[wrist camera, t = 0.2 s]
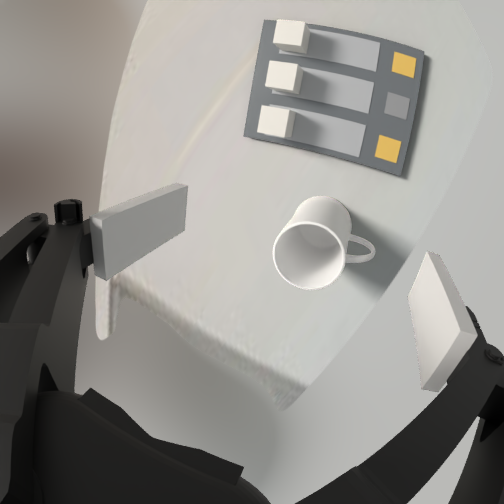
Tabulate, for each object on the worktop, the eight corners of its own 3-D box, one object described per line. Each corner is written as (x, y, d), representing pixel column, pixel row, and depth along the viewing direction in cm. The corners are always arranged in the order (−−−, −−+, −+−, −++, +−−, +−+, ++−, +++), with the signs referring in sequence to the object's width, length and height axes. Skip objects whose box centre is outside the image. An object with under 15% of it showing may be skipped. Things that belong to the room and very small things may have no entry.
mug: (380, 210, 39) (387, 240, 28) (363, 264, 42) (362, 308, 32) (299, 189, 41) (277, 210, 31) (288, 243, 45) (264, 280, 35)
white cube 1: (285, 28, 32) (277, 19, 28) (310, 31, 31) (305, 21, 27) (281, 50, 33) (272, 42, 30) (306, 53, 32) (300, 45, 29)
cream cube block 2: (278, 66, 34) (269, 60, 31) (303, 70, 33) (297, 64, 30) (273, 90, 36) (265, 86, 32) (299, 94, 35) (292, 90, 31)
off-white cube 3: (270, 107, 37) (261, 105, 33) (296, 112, 36) (289, 109, 33) (266, 131, 38) (257, 132, 35) (291, 136, 38) (284, 137, 34)
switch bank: (266, 22, 33) (263, 19, 32) (422, 53, 28) (424, 51, 27) (246, 136, 41) (243, 136, 40) (399, 175, 36) (400, 176, 35)
